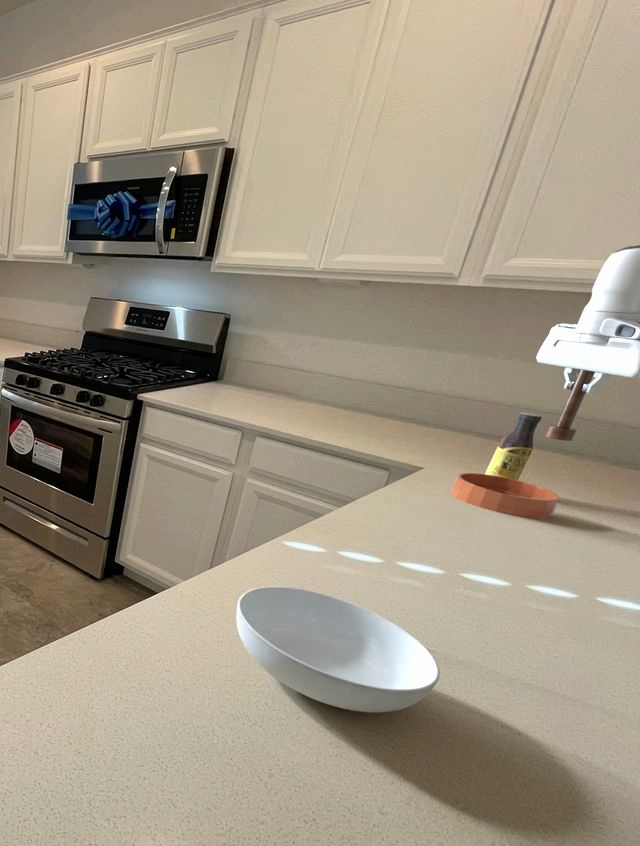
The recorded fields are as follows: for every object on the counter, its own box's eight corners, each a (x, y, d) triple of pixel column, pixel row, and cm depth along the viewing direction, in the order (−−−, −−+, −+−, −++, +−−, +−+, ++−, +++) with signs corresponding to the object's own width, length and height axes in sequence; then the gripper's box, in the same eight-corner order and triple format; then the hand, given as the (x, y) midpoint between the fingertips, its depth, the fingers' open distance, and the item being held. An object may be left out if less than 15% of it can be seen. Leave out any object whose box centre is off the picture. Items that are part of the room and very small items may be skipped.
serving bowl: (348, 761, 61) (370, 709, 59) (190, 644, 79) (202, 600, 77) (457, 712, 69) (480, 664, 67) (292, 615, 87) (305, 575, 85)
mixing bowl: (540, 510, 138) (551, 486, 136) (554, 532, 125) (566, 507, 123) (446, 490, 147) (455, 467, 145) (450, 509, 135) (460, 485, 133)
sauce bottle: (491, 491, 149) (524, 415, 142) (474, 482, 155) (504, 409, 148) (520, 494, 148) (554, 418, 141) (501, 485, 154) (533, 412, 147)
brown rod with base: (560, 436, 132) (593, 361, 127) (578, 441, 128) (613, 364, 122) (538, 434, 133) (570, 359, 127) (555, 439, 129) (589, 362, 123)
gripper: (542, 321, 132) (517, 381, 137) (652, 331, 113) (619, 401, 117) (568, 322, 132) (543, 382, 137) (682, 332, 113) (648, 402, 118)
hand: (579, 391), depth 127 cm, fingers closed on brown rod with base, 2 cm apart
